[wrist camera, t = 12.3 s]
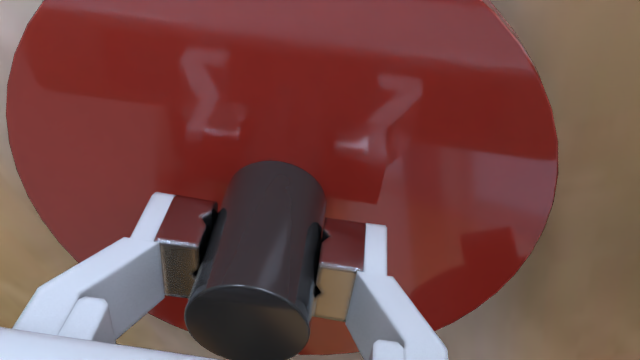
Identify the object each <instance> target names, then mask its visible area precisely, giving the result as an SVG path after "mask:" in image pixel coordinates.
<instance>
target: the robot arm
mask: <svg viewBox="0 0 640 360" xmlns="http://www.w3.org/2000/svg"><path fill="white" fill-rule="evenodd" d="M217 215H218V203H217V202H216V201H210V200H204V199H198V198H192V197H187V196H181V195H172V194H166V193H161V192H155V193H154V194H153V195H152V196H151V198H150V200H149V201H148V203H147V205H146V207H145V209H144V211H143V213H142V215H141V217H140V219H139V221H138V223H137V225H136V227H135V229H134V231H133V233H132V235H131V236H130V238H127V237H123V238H121V239H120V240H118V241H116V242H115V243H113V244H111V245H110V246H108V247H106V248H104V249H103V250H101V251H99V252H98V253H96V254H94V255H92V256H91V257H89V258H87V259H86V260H84V261H82V262H81V263H79V264H77V265H75V266H74V267H72V268H70V269H69V270H67V271H65V272H64V273H62V274H60V275H58V276H57V277H55V278H53V279H52V280H50V281H48V282H46V283H45V284H43V285H41V286H40V287H38V288H37V290H36V292H35V293H34V295H33V296H32V298H31V299H30V301H29V303H28V304H27V306H26V307H25V309H24V310H23V312H22V314H21V315H20V317H19V318H18V320H17V321H16V323H15V325H14V326H13V328H12V329H11V328H4V327H0V360H220V359H214V358H207V357H200V356H193V355H187V354H180V353H173V352H166V351H160V350H153V349H146V348H139V347H133V346H126V345H119V344H116V339H117V338H119V337H120V336H121V335H122V334H123V333H124V332H126V331H127V330H128V329H129V328H130V327H131V326H133V325H134V324H135V323H136V322H137V321H138V320H140V319H141V318H142V317H143V316H144V315H145V314H147V313H148V312H149V311H150V310H151V309H152V308H154V307H155V306H156V305H157V304H158V303H159V302H160V301H162V300H163V299H164V298H165V296H172V297H180V298H189V295H190V293H191V290H192V287H193V284H194V281H195V278H196V275H197V272H198V270H199V267H200V264H201V261H202V258H203V255H204V252H205V249H206V247H207V244H208V241H209V238H210V235H211V232H212V229H213V226H214V223H215V221H216V218H217ZM320 249H321V250H320V256H319V262H318V270H317V278H316V292H315V300H314V307H313V315H312V316H313V317H318V318H324V319H330V320H335V321H341V322H346V323H345V324H346V326H347V328H348V330H349V332H350V334H351V336H352V338H353V340H354V342H355V344H356V346H357V347H358V349H359V351H360V353H361V355H362V357H363V359H364V360H448V352H447V348H446V346H445V345H444V344H443V342H442V341H441V340H440V338H439V337H438V336H437V334H436V333H435V332H434V330H433V329H432V328H431V326H430V325H429V324H428V322H427V321H426V320H425V318H424V317H423V316H422V314H421V313H420V312H419V310H418V309H417V308H416V306H415V305H414V304H413V302H412V301H411V300H410V298H409V297H408V296H407V294H406V293H405V292H404V290H403V289H402V288H401V286H400V285H399V284H398V283H397V281H396V280H395V279H394V277H392V276H387V227H386V225H379V224H372V223H362V222H355V221H348V220H341V219H334V218H326V217H325V220H324V226H323V233H322V240H321V247H320Z"/></svg>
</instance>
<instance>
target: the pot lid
mask: <svg viewBox="0 0 640 360" xmlns="http://www.w3.org/2000/svg"><path fill="white" fill-rule="evenodd" d="M6 119H7V127H8V136H9V144H10V147H11V151H12V155H13V158H14V162H15V165H16V169H17V172H18V174H19V177H20V179H21V181H22V183H23V186H24V188H25V190H26V193H27V195H28V197H29V199H30V200H31V202H32V204H33V206H34V207H35V209H36V211H37V212H38V214H39V216H40V217H41V219H42V221H43V222H44V223H45V225H46V226H47V227H48V229H49V230H50V231H51V233H52V234H53V235H54V236H55V238H56V239H57V240H58V242H59V243H60V244H61V245H62V246H63V247H64V248H65V249H66V250H67V251H68V253H69V254H70V255H71V256H72V257H73V258H74V259H75V260H76V261H77V262H78V263H81V262H82V261H84V260H86V259H87V258H89V257H91V256H92V255H94V254H96V253H98V252H99V251H101V250H103V249H104V248H106V247H108V246H110V245H111V244H113V243H115V242H116V241H118V240H120V239H121V238H123V237H127V238H130V236H131V235H132V233H133V231H134V229H135V227H136V225H137V223H138V221H139V219H140V217H141V215H142V213H143V211H144V209H145V207H146V205H147V203H148V201H149V200H150V198H151V196H152V195H153V194H154V193H155V192H161V193H166V194H172V195H181V196H187V197H192V198H198V199H204V200H210V201H216V202H217V203H218V215H217V218H216V221H215V223H214V226H213V229H212V232H211V235H210V238H209V241H208V244H207V247H206V249H205V252H204V255H203V258H202V261H201V264H200V267H199V270H198V272H197V275H196V278H195V281H194V284H193V287H192V290H191V293H190V295H189V298H180V297H172V296H165V298H164V299H163V300H162V301H160V302H159V303H158V304H157V305H156V306H155V307H154V308H152V309H151V310H150V311H149V312H148V313H149V314H151V315H153V316H155V317H157V318H159V319H161V320H163V321H165V322H167V323H169V324H171V325H174V326H176V327H179V328H181V329H184V330H186V331H189V333H190V334H191V336H192V337H193V338H194V339H195V340H196V341H197V342H198V343H199V344H200V345H201V346H203V347H204V348H206V349H207V350H209V351H211V352H212V353H214V354H216V355H219V356H221V357H224V358H226V359H230V360H287V359H289V358H291V357H293V356H295V355H331V354H344V353H355V352H360V351H359V349H358V347H357V346H356V344H355V342H354V340H353V338H352V336H351V334H350V332H349V330H348V328H347V326H346V324H345V323H346V322H341V321H335V320H330V319H324V318H318V317H313V316H312V315H313V307H314V300H315V292H316V278H317V270H318V262H319V256H320V250H321V249H320V247H321V240H322V233H323V226H324V220H325V217H326V218H334V219H341V220H348V221H355V222H362V223H372V224H379V225H386V227H387V276H392V277H394V279H395V280H396V281H397V283H398V284H399V285H400V286H401V288H402V289H403V290H404V292H405V293H406V294H407V296H408V297H409V298H410V300H411V301H412V302H413V304H414V305H415V306H416V308H417V309H418V310H419V312H420V313H421V314H422V316H423V317H424V318H425V320H426V321H427V322H428V324H429V325H430V326H431V328H432V329H433V330H434V331H436V330H438V329H441V328H443V327H445V326H447V325H449V324H451V323H453V322H455V321H457V320H458V319H460V318H462V317H463V316H465V315H467V314H468V313H470V312H472V311H473V310H475V309H476V308H478V307H479V306H480V305H481V304H483V303H484V302H485V301H487V300H488V299H489V298H491V297H492V296H493V295H494V294H496V293H497V292H498V291H499V290H500V289H501V288H502V287H503V286H504V285H505V284H506V283H507V282H508V281H509V280H510V279H511V278H512V277H513V276H514V275H515V274H516V272H517V271H518V270H519V268H520V267H521V266H522V264H523V263H524V262H525V260H526V259H527V258H528V256H529V255H530V254H531V252H532V250H533V249H534V247H535V245H536V243H537V241H538V239H539V237H540V236H541V234H542V232H543V230H544V228H545V225H546V222H547V219H548V216H549V213H550V211H551V208H552V205H553V202H554V196H555V190H556V184H557V178H558V138H557V133H556V127H555V122H554V117H553V111H552V108H551V105H550V102H549V100H548V97H547V94H546V92H545V89H544V86H543V84H542V81H541V78H540V76H539V74H538V71H537V69H536V67H535V65H534V63H533V61H532V59H531V58H530V56H529V54H528V52H527V51H526V49H525V47H524V46H523V44H522V42H521V40H520V39H519V37H518V35H517V34H516V32H515V31H514V30H513V28H512V27H511V26H510V25H509V24H508V22H507V21H506V20H505V19H504V17H503V16H502V15H501V14H500V13H499V11H498V10H497V9H496V8H495V6H494V5H493V4H492V3H491V2H490V1H489V0H44V1H43V2H42V4H41V5H40V6H39V8H38V9H37V11H36V12H35V14H34V15H33V17H32V18H31V20H30V21H29V23H28V24H27V26H26V29H25V31H24V33H23V35H22V38H21V40H20V42H19V45H18V47H17V49H16V51H15V54H14V58H13V62H12V67H11V71H10V75H9V80H8V84H7V103H6Z"/></svg>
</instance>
